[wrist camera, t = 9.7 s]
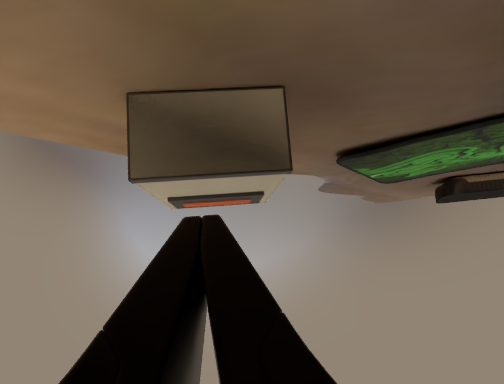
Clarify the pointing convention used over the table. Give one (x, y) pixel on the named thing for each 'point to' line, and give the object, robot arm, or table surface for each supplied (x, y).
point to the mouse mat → (432, 154)
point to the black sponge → (471, 188)
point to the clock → (208, 145)
